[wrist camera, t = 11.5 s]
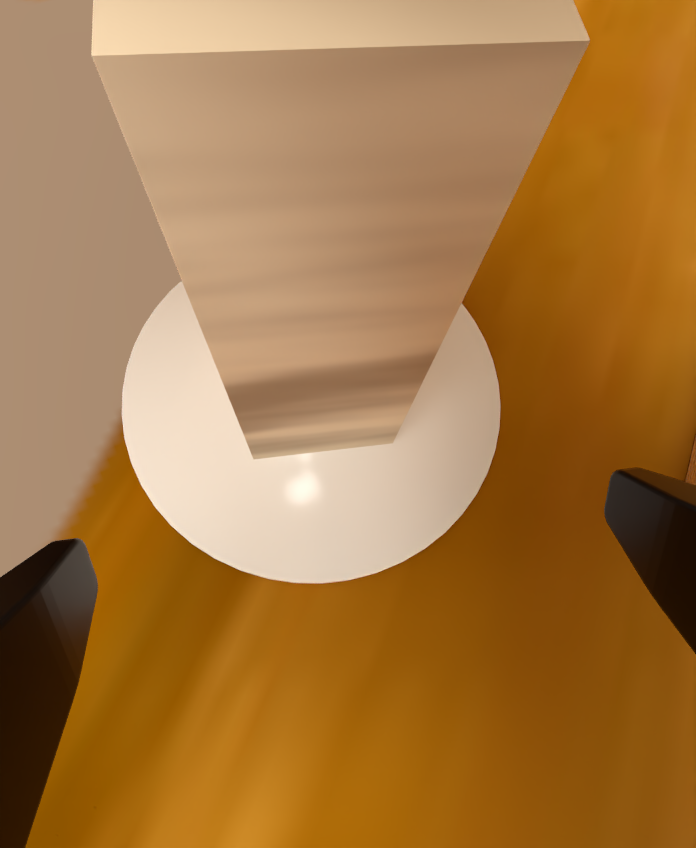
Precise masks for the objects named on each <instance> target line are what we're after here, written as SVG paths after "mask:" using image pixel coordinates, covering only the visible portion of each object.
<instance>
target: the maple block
mask: <svg viewBox="0 0 696 848" xmlns="http://www.w3.org/2000/svg"><path fill="white" fill-rule="evenodd" d="M589 42H590V39H589V36H588V34H587V32H586V29H585V27H584V25H583V22H582V20H581V18H580V15H579V13H578V11H577V8H576V6H575V4H574V1H573V0H93V26H92V58H93V61H94V63H95V66H96V68H97V71H98V73H99V76H100V78H101V81H102V83H103V86H104V88H105V91H106V93H107V96H108V98H109V101H110V103H111V106H112V108H113V111H114V113H115V116H116V118H117V121H118V123H119V126H120V128H121V131H122V133H123V136H124V138H125V141H126V143H127V146H128V148H129V150H130V153H131V156H132V158H133V161H134V163H135V166H136V168H137V170H138V173H139V175H140V178H141V180H142V183H143V185H144V188H145V190H146V193H147V195H148V198H149V200H150V203H151V205H152V208H153V210H154V213H155V215H156V218H157V220H158V223H159V225H160V228H161V230H162V233H163V235H164V238H165V240H166V243H167V245H168V248H169V250H170V253H171V255H172V258H173V260H174V262H175V265H176V268H177V270H178V273H179V275H180V278H181V280H182V283H183V285H184V288H185V290H186V293H187V295H188V298H189V300H190V303H191V305H192V307H193V310H194V312H195V315H196V317H197V320H198V322H199V325H200V327H201V330H202V332H203V335H204V337H205V340H206V342H207V345H208V347H209V350H210V352H211V355H212V357H213V360H214V362H215V365H216V367H217V370H218V372H219V375H220V377H221V380H222V382H223V385H224V387H225V390H226V392H227V395H228V397H229V400H230V402H231V405H232V407H233V410H234V412H235V415H236V417H237V420H238V422H239V425H240V427H241V430H242V432H243V434H244V437H245V439H246V442H247V444H248V447H249V449H250V452H251V454H252V457H253V459H263V458H271V457H280V456H288V455H297V454H305V453H314V452H323V451H331V450H340V449H348V448H357V447H365V446H374V445H383V444H391V443H393V442H394V440H395V438H396V435H397V433H398V431H399V429H400V427H401V425H402V423H403V421H404V419H405V417H406V415H407V413H408V411H409V409H410V407H411V405H412V403H413V401H414V399H415V397H416V395H417V393H418V391H419V389H420V387H421V385H422V382H423V380H424V378H425V376H426V374H427V372H428V370H429V368H430V366H431V364H432V362H433V360H434V358H435V356H436V354H437V352H438V350H439V348H440V346H441V344H442V342H443V340H444V338H445V336H446V334H447V332H448V329H449V327H450V325H451V323H452V321H453V319H454V317H455V315H456V313H457V311H458V309H459V307H460V305H461V303H462V301H463V299H464V297H465V295H466V293H467V291H468V289H469V287H470V285H471V283H472V281H473V278H474V276H475V274H476V272H477V270H478V268H479V266H480V264H481V262H482V260H483V258H484V256H485V254H486V252H487V250H488V248H489V246H490V244H491V242H492V240H493V238H494V236H495V234H496V232H497V230H498V228H499V225H500V223H501V221H502V219H503V217H504V215H505V213H506V211H507V209H508V207H509V205H510V203H511V201H512V199H513V197H514V195H515V193H516V191H517V189H518V187H519V185H520V183H521V181H522V179H523V177H524V175H525V172H526V170H527V168H528V166H529V164H530V162H531V160H532V158H533V156H534V154H535V152H536V150H537V148H538V146H539V144H540V142H541V140H542V138H543V136H544V134H545V132H546V130H547V128H548V126H549V124H550V122H551V119H552V117H553V115H554V113H555V111H556V109H557V107H558V105H559V103H560V101H561V99H562V97H563V95H564V93H565V91H566V89H567V87H568V85H569V83H570V81H571V79H572V77H573V75H574V73H575V71H576V68H577V66H578V64H579V62H580V60H581V58H582V56H583V54H584V52H585V50H586V48H587V46H588V44H589Z"/></svg>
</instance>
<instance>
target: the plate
mask: <svg viewBox="0 0 696 848" xmlns="http://www.w3.org/2000/svg"><path fill="white" fill-rule="evenodd" d="M500 406H501V405H500V394H499V384H498V379H497V375H496V370H495V366H494V362H493V359H492V356H491V354H490V351H489V349H488V346H487V343H486V341H485V339H484V337H483V335H482V333H481V332H480V330H479V328H478V326H477V324H476V322H475V321H474V319H473V318H472V317H471V315H470V314H469V312H468V311H467V310H466V308H465V307H464V305H463V304H462V303H461V305H460V307H459V309H458V311H457V313H456V315H455V317H454V319H453V321H452V323H451V325H450V327H449V329H448V332H447V334H446V336H445V338H444V340H443V342H442V344H441V346H440V348H439V350H438V352H437V354H436V356H435V358H434V360H433V362H432V364H431V366H430V368H429V370H428V372H427V374H426V376H425V378H424V380H423V382H422V385H421V387H420V389H419V391H418V393H417V395H416V397H415V399H414V401H413V403H412V405H411V407H410V409H409V411H408V413H407V415H406V417H405V419H404V421H403V423H402V425H401V427H400V429H399V431H398V433H397V435H396V438H395V440H394V442H393V443H391V444H383V445H374V446H365V447H357V448H348V449H340V450H331V451H323V452H314V453H305V454H297V455H288V456H280V457H271V458H263V459H253V457H252V454H251V452H250V449H249V447H248V444H247V442H246V439H245V437H244V434H243V432H242V430H241V427H240V425H239V422H238V420H237V417H236V415H235V412H234V410H233V407H232V405H231V402H230V400H229V397H228V395H227V392H226V390H225V387H224V385H223V382H222V380H221V377H220V375H219V372H218V370H217V367H216V365H215V362H214V360H213V357H212V355H211V352H210V350H209V347H208V345H207V342H206V340H205V337H204V335H203V332H202V330H201V327H200V325H199V322H198V320H197V317H196V315H195V312H194V310H193V307H192V305H191V303H190V300H189V298H188V295H187V293H186V290H185V288H184V285H183V283H182V281H181V282H180V283H178V284H177V285H176V286H175V287H174V288H173V289H172V290H171V291H170V292H169V293H168V294H167V295H166V296H165V298H164V299H163V300H162V301H161V302H160V304H158V306H157V307H156V308H155V310H154V311H153V313H152V314H151V316H150V317H149V319H148V320H147V322H146V323H145V325H144V326H143V328H142V330H141V332H140V334H139V336H138V339H137V341H136V343H135V345H134V347H133V350H132V353H131V356H130V359H129V362H128V365H127V368H126V374H125V379H124V385H123V391H122V421H123V430H124V438H125V442H126V446H127V449H128V453H129V457H130V460H131V463H132V466H133V468H134V470H135V472H136V475H137V477H138V479H139V481H140V484H141V486H142V487H143V489H144V490H145V492H146V494H147V495H148V497H149V498H150V500H151V501H152V503H153V505H154V506H155V507H156V509H157V510H158V511H159V512H160V513H161V514H162V516H163V517H164V518H165V519H166V520H167V521H168V523H169V524H170V525H171V526H172V527H173V528H174V529H175V530H177V531H178V532H179V533H180V534H181V535H182V536H183V537H185V538H186V539H187V540H188V541H189V542H190V543H191V544H193V545H194V546H196V547H198V548H199V549H201V550H202V551H204V552H205V553H207V554H208V555H210V556H212V557H213V558H215V559H217V560H219V561H221V562H223V563H225V564H227V565H230V566H232V567H234V568H236V569H238V570H240V571H243V572H246V573H249V574H253V575H256V576H259V577H263V578H266V579H271V580H277V581H284V582H290V583H308V584H324V583H332V582H341V581H349V580H353V579H357V578H360V577H364V576H368V575H372V574H375V573H378V572H380V571H383V570H385V569H387V568H390V567H392V566H395V565H397V564H399V563H401V562H403V561H405V560H407V559H408V558H410V557H412V556H413V555H415V554H417V553H418V552H420V551H422V550H423V549H425V548H426V547H428V546H429V545H430V544H431V543H433V542H434V541H435V540H436V539H438V538H439V537H440V536H441V535H443V534H444V533H445V532H446V531H447V530H448V529H449V528H450V527H451V526H452V525H453V524H454V523H455V522H456V521H457V519H458V518H459V517H460V516H461V515H462V514H463V513H464V511H465V510H466V509H467V507H468V506H469V504H470V503H471V501H472V500H473V499H474V497H475V496H476V494H477V493H478V491H479V489H480V487H481V485H482V483H483V481H484V479H485V477H486V475H487V473H488V470H489V467H490V464H491V461H492V458H493V456H494V453H495V449H496V444H497V439H498V433H499V428H500Z"/></svg>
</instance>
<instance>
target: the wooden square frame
mask: <svg viewBox="0 0 696 848" xmlns="http://www.w3.org/2000/svg"><path fill="white" fill-rule="evenodd" d="M685 482H688V483H691V484H694V485H696V437H695V441H694V445H693V450H692V454H691V458H690V463H689V467H688V471H687V476H686V480H685Z"/></svg>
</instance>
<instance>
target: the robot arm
mask: <svg viewBox="0 0 696 848" xmlns="http://www.w3.org/2000/svg"><path fill="white" fill-rule="evenodd" d="M604 512H605V518H606V521H607V523H608V525H609V527H610V528H611V530H612V531H613V533H614V535H615V536H616V538H617V540H618V541H619V543H620V545H621V546H622V548H623V550H624V551H625V553H626V554H627V556H628V558H629V559H630V561H631V563H632V564H633V566H634V568H635V569H636V571H637V573H638V574H639V576H640V577H641V579H642V581H643V582H644V584H645V585H646V587H647V589H648V590H649V592H650V593H651V595H652V596H653V598H654V599H655V600H656V602H657V603H658V604H659V606H660V607H661V609H662V610H663V611H664V613H665V614H666V615H667V617H668V618H669V619H670V621H671V622H672V623H673V625H674V626H675V627H676V629H677V630H678V631H679V633H680V634H681V635H682V637H683V638H684V639H685V641H686V642H687V643H688V645H689V646H690V647H691V649H692V650H693V651H694V652H695V654H696V485H694V484H691V483H688V482H684V481H681V480H678V479H675V478H671V477H668V476H665V475H662V474H658V473H655V472H652V471H649V470H645V469H642V468H627V469H620V470H616V471H615V472H613V474H612V475H611V478H610V482H609V487H608V492H607V498H606V503H605V508H604ZM97 591H98V583H97V578H96V574H95V571H94V568H93V565H92V563H91V560H90V557H89V554H88V551H87V548H86V545H85V543H84V542H83V541H82V540H80V539H78V538H75V539H67V540H59V541H54V542H51V543H50V544H48V545H47V546H45V547H44V548H42V549H41V550H39V551H38V552H36V553H35V554H34V555H32V556H31V557H29V558H28V559H26V560H25V561H23V562H22V563H21V564H19V565H18V566H16V567H15V568H13V569H12V570H10V571H9V572H7V573H6V574H5V575H3V576H2V577H0V848H25V847H26V844H27V840H28V837H29V834H30V831H31V828H32V825H33V822H34V819H35V816H36V813H37V810H38V807H39V804H40V801H41V798H42V795H43V791H44V788H45V785H46V782H47V779H48V776H49V773H50V770H51V767H52V764H53V761H54V758H55V755H56V752H57V749H58V745H59V742H60V739H61V736H62V733H63V730H64V727H65V724H66V721H67V718H68V715H69V712H70V709H71V706H72V703H73V699H74V696H75V693H76V689H77V686H78V682H79V678H80V674H81V670H82V665H83V660H84V655H85V650H86V646H87V641H88V636H89V631H90V626H91V621H92V616H93V612H94V607H95V602H96V597H97Z"/></svg>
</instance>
